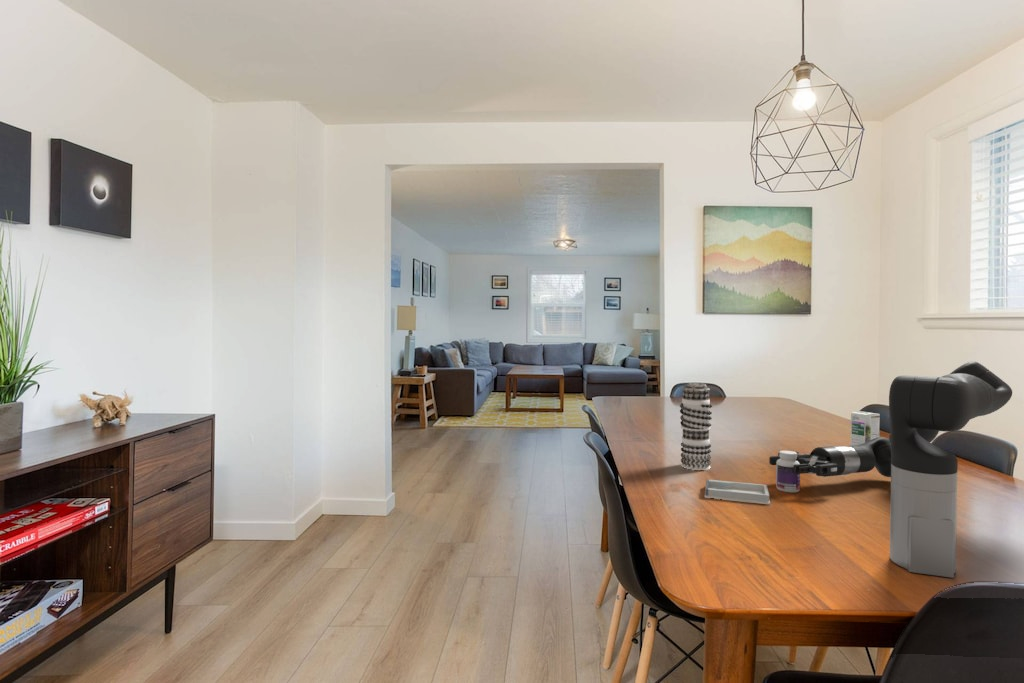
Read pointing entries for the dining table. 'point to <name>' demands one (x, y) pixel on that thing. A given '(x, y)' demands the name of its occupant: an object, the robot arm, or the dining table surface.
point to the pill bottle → (787, 472)
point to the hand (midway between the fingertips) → (782, 465)
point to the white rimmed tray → (737, 491)
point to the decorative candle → (695, 427)
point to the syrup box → (864, 427)
